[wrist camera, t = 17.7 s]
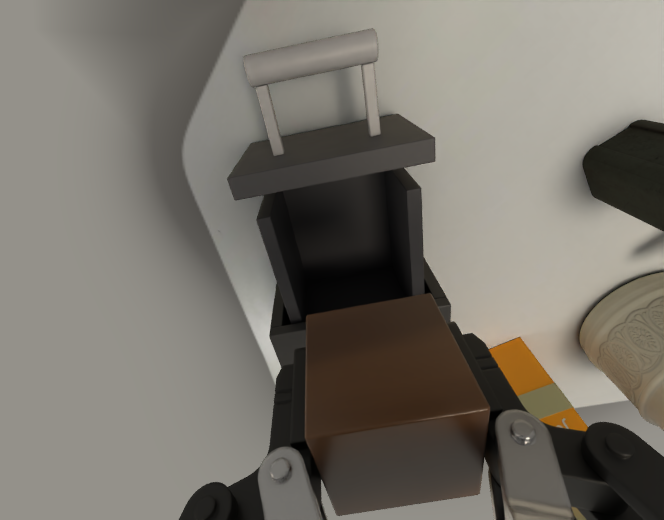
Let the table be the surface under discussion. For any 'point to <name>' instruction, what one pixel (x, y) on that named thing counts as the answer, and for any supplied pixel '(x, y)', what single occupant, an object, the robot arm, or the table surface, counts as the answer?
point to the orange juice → (536, 389)
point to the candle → (631, 172)
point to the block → (392, 406)
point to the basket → (336, 189)
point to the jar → (631, 343)
